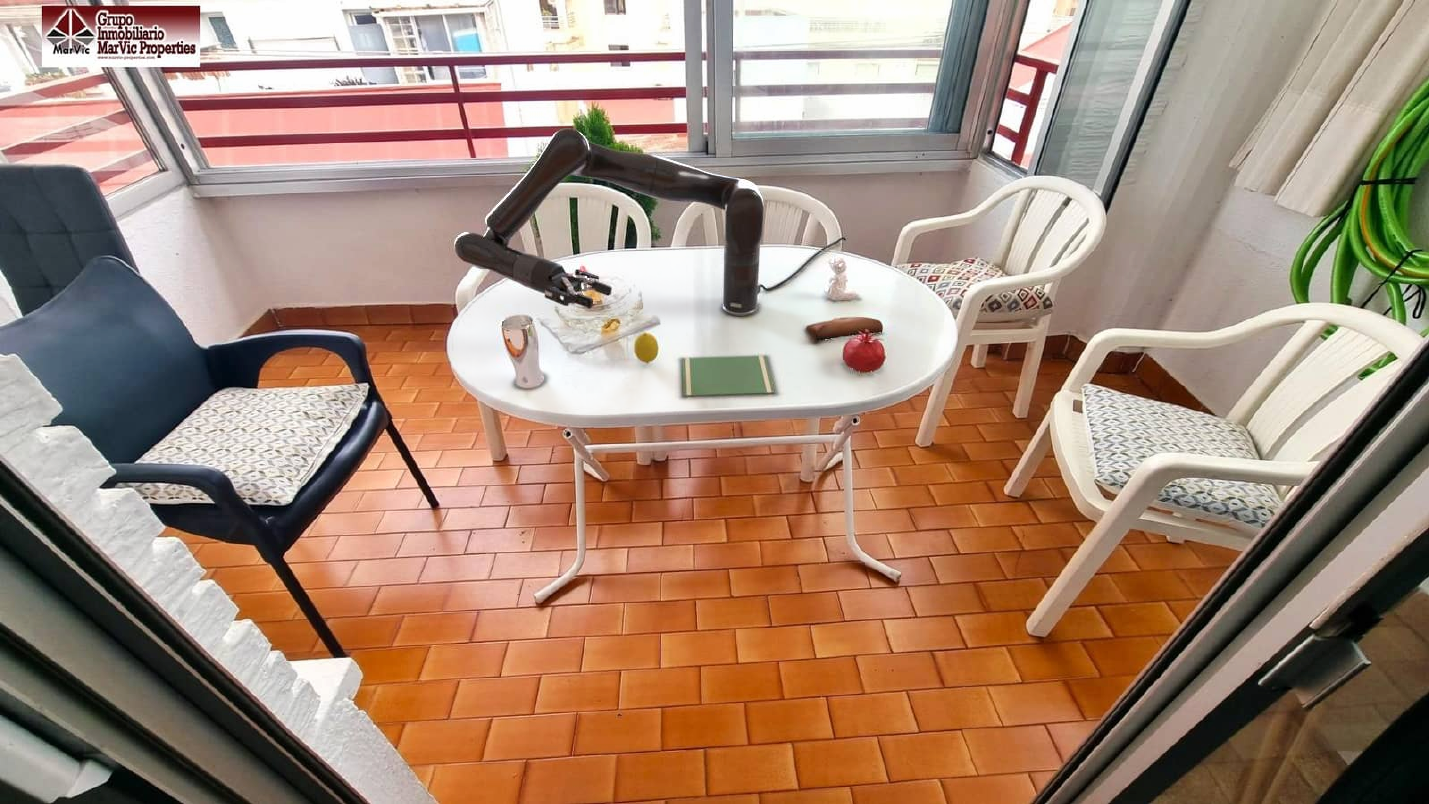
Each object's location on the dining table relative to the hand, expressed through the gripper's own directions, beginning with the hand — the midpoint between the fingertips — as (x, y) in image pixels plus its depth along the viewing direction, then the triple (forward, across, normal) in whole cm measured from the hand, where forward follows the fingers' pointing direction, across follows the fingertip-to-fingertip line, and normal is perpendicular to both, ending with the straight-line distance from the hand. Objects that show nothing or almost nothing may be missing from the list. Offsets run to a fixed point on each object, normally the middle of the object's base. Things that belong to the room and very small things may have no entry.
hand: (601, 297), depth 129 cm
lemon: (+13, +2, +13) cm, 19 cm away
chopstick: (-21, +33, +17) cm, 42 cm away
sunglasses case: (+53, +32, +2) cm, 61 cm away
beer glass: (-8, -14, +19) cm, 25 cm away
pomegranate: (+60, +17, +2) cm, 62 cm away
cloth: (+32, +3, +9) cm, 33 cm away
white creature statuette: (+48, +52, +1) cm, 70 cm away
